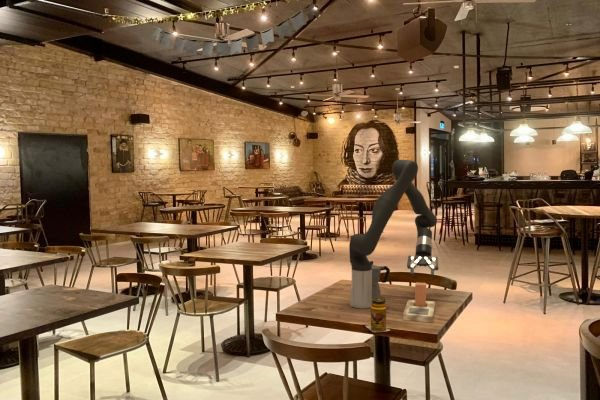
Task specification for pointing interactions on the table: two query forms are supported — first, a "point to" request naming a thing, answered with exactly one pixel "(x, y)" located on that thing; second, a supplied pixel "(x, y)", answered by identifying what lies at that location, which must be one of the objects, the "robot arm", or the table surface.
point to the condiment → (378, 316)
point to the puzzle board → (419, 312)
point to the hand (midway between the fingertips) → (422, 276)
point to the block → (420, 294)
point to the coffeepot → (377, 279)
